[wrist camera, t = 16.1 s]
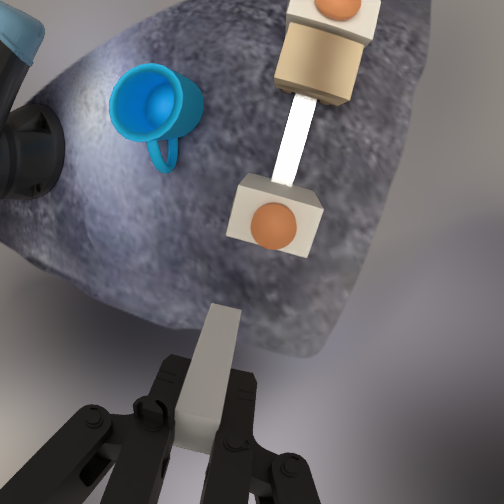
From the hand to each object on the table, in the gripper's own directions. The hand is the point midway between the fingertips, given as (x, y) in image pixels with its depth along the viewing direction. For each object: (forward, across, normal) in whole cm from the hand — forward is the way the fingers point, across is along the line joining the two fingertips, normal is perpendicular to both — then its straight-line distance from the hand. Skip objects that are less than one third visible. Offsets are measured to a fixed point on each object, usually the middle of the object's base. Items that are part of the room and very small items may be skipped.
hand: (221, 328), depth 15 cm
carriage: (+24, +3, +17) cm, 29 cm away
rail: (+24, +3, +12) cm, 27 cm away
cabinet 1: (+23, +2, +1) cm, 24 cm away
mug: (+24, -12, +8) cm, 28 cm away
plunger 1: (+18, +2, +1) cm, 18 cm away
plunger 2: (+18, +3, +23) cm, 30 cm away
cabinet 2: (+24, +3, +23) cm, 33 cm away
